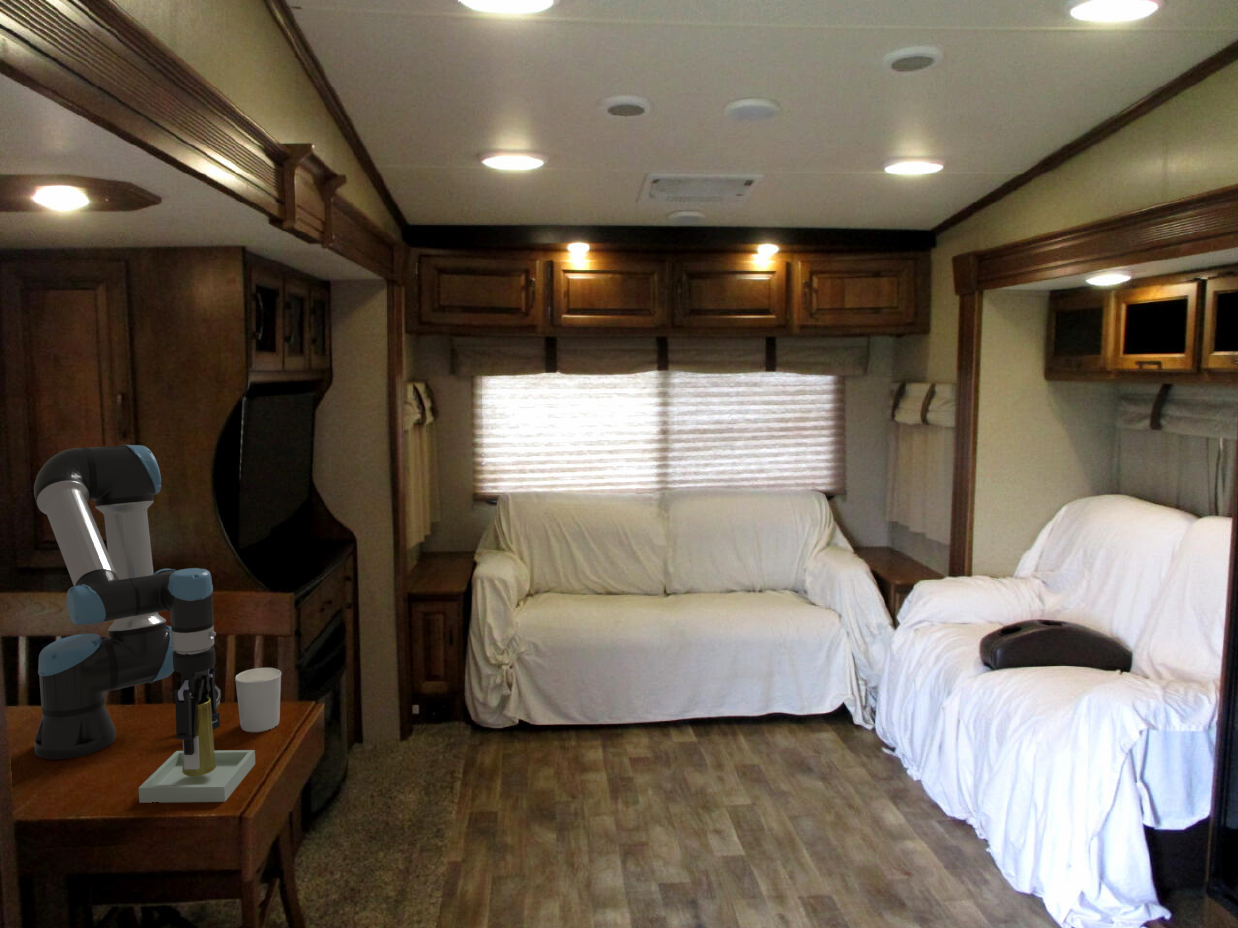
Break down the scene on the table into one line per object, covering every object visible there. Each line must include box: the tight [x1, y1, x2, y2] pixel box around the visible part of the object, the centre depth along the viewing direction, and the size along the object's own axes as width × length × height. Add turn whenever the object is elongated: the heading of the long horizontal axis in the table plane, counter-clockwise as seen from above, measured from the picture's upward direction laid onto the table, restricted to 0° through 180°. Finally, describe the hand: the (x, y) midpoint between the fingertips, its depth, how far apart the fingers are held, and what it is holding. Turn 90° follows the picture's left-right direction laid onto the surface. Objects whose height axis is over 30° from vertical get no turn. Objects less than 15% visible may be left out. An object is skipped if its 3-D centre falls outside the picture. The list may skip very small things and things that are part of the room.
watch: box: [212, 684, 222, 730], centre depth 202 cm, size 6×8×11 cm
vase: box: [182, 697, 216, 776], centre depth 176 cm, size 6×6×14 cm
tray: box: [138, 749, 256, 804], centre depth 177 cm, size 16×16×3 cm
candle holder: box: [234, 667, 282, 733], centre depth 205 cm, size 10×10×12 cm
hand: (199, 760), depth 177 cm, fingers closed on vase, 6 cm apart
